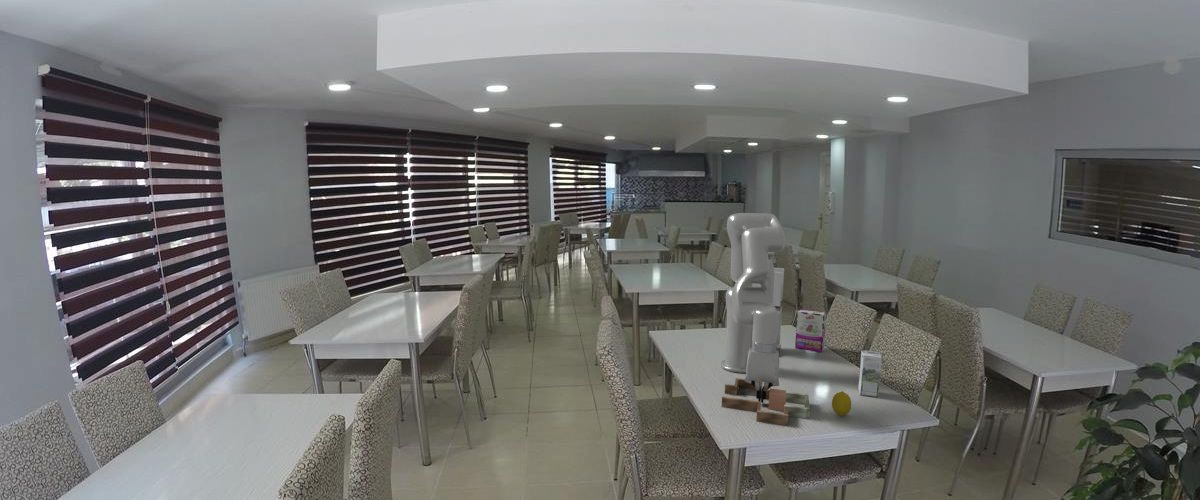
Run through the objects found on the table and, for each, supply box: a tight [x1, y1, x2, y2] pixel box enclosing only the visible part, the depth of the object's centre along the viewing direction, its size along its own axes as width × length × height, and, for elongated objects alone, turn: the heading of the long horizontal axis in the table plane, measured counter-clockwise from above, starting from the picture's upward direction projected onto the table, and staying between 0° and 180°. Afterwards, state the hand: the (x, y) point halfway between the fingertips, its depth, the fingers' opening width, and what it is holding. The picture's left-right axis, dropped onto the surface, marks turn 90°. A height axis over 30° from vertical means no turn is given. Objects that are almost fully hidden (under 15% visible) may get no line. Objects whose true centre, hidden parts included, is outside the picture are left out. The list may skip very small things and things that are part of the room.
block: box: [767, 387, 787, 412], centre depth 177 cm, size 5×5×5 cm
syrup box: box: [857, 349, 883, 398], centre depth 188 cm, size 6×6×14 cm
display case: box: [751, 267, 785, 352], centre depth 229 cm, size 11×11×35 cm
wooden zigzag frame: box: [721, 377, 811, 426], centre depth 178 cm, size 26×26×3 cm
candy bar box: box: [794, 309, 827, 354], centre depth 234 cm, size 11×5×16 cm, turn 58°
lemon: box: [831, 391, 852, 417], centre depth 170 cm, size 6×6×8 cm
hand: (760, 400), depth 179 cm, fingers closed
